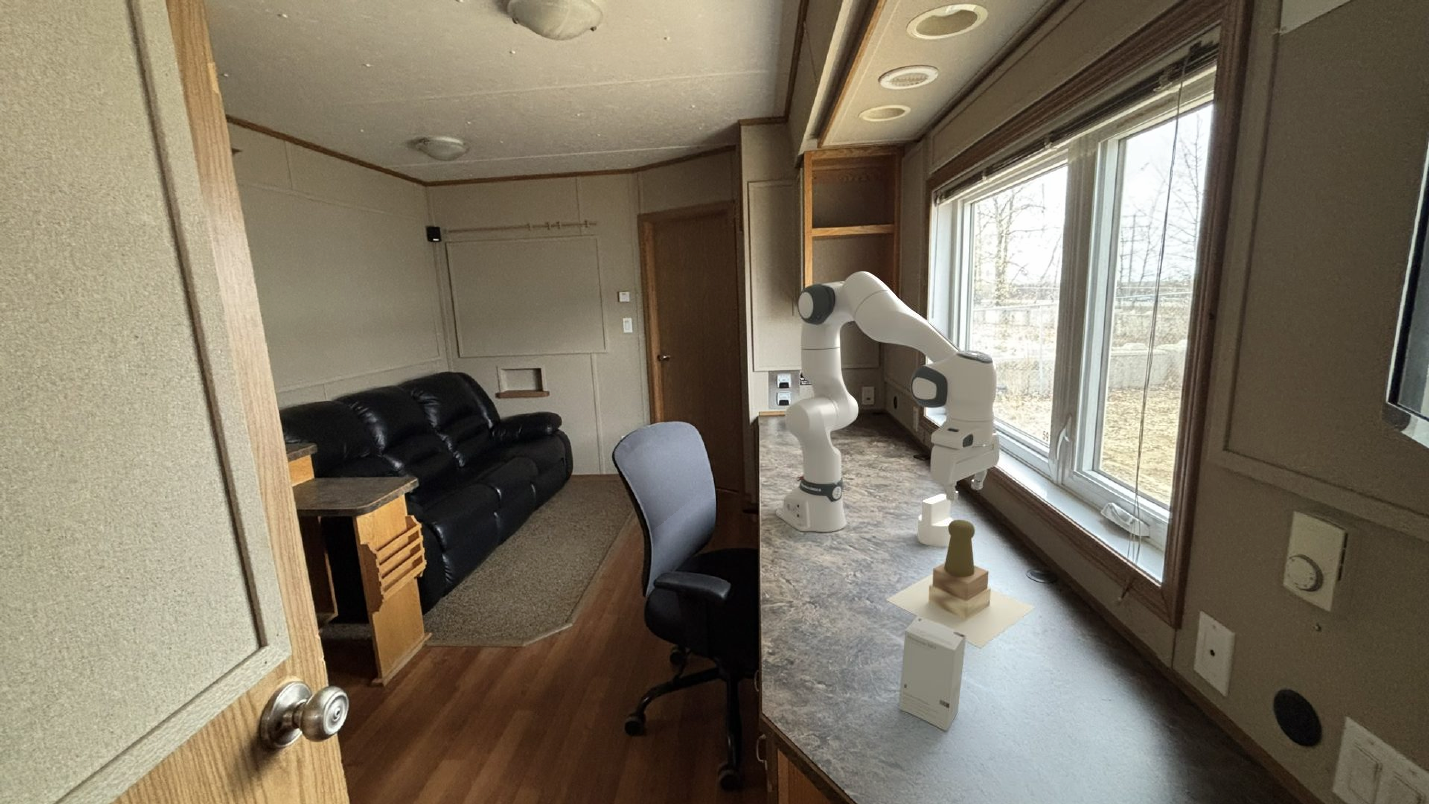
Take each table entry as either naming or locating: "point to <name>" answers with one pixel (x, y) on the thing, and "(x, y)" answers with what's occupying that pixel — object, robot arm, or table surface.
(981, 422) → the robot arm
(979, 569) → the top block
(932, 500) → the cylinder with rectangular tab
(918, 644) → the skincare box
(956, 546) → the olive rounded upright piece
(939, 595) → the bottom block
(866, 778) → the table surface
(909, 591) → the felt mat
